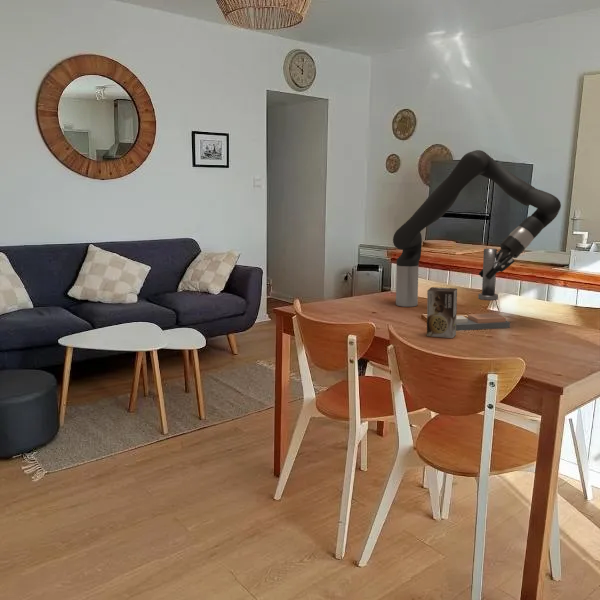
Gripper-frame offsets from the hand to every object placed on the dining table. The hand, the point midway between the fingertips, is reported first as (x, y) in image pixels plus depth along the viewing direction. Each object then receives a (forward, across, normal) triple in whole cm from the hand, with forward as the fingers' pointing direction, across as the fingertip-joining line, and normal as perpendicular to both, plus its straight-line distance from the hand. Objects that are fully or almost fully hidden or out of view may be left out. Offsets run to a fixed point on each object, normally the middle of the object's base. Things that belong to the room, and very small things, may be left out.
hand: (484, 276), depth 208 cm
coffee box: (+27, +10, -1) cm, 29 cm away
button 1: (+18, 0, +5) cm, 19 cm away
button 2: (+11, 0, +13) cm, 17 cm away
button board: (+15, 0, +11) cm, 18 cm away
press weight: (+4, 0, +7) cm, 8 cm away
